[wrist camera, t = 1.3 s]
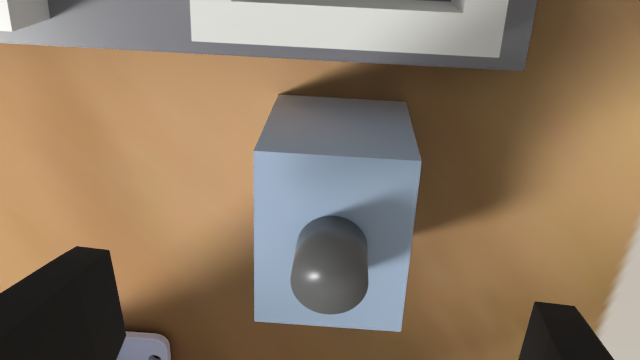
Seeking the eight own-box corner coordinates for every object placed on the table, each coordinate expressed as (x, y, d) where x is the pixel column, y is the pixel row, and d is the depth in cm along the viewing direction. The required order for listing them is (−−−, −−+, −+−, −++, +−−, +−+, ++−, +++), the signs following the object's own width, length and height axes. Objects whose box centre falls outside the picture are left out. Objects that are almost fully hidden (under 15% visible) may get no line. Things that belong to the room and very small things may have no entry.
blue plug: (390, 240, 21) (405, 373, 15) (276, 232, 21) (243, 361, 15) (405, 101, 19) (429, 189, 13) (278, 93, 19) (241, 177, 13)
